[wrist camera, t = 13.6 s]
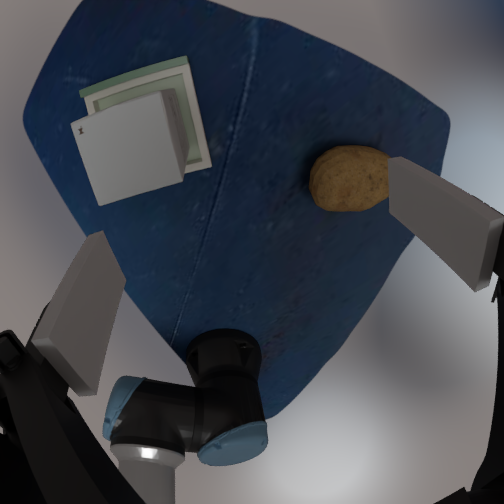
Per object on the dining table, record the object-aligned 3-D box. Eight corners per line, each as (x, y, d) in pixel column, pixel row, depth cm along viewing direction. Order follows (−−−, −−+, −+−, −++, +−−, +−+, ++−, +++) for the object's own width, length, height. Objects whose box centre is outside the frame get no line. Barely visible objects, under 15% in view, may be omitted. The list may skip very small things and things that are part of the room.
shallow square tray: (211, 161, 43) (212, 169, 39) (117, 186, 42) (110, 196, 39) (188, 58, 35) (186, 55, 31) (89, 89, 34) (79, 90, 31)
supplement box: (128, 167, 40) (96, 209, 28) (111, 107, 36) (66, 122, 23) (191, 149, 40) (185, 184, 28) (176, 86, 36) (160, 88, 23)
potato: (383, 190, 48) (409, 210, 42) (303, 207, 48) (320, 231, 41) (381, 133, 43) (409, 145, 36) (294, 146, 43) (312, 160, 36)
